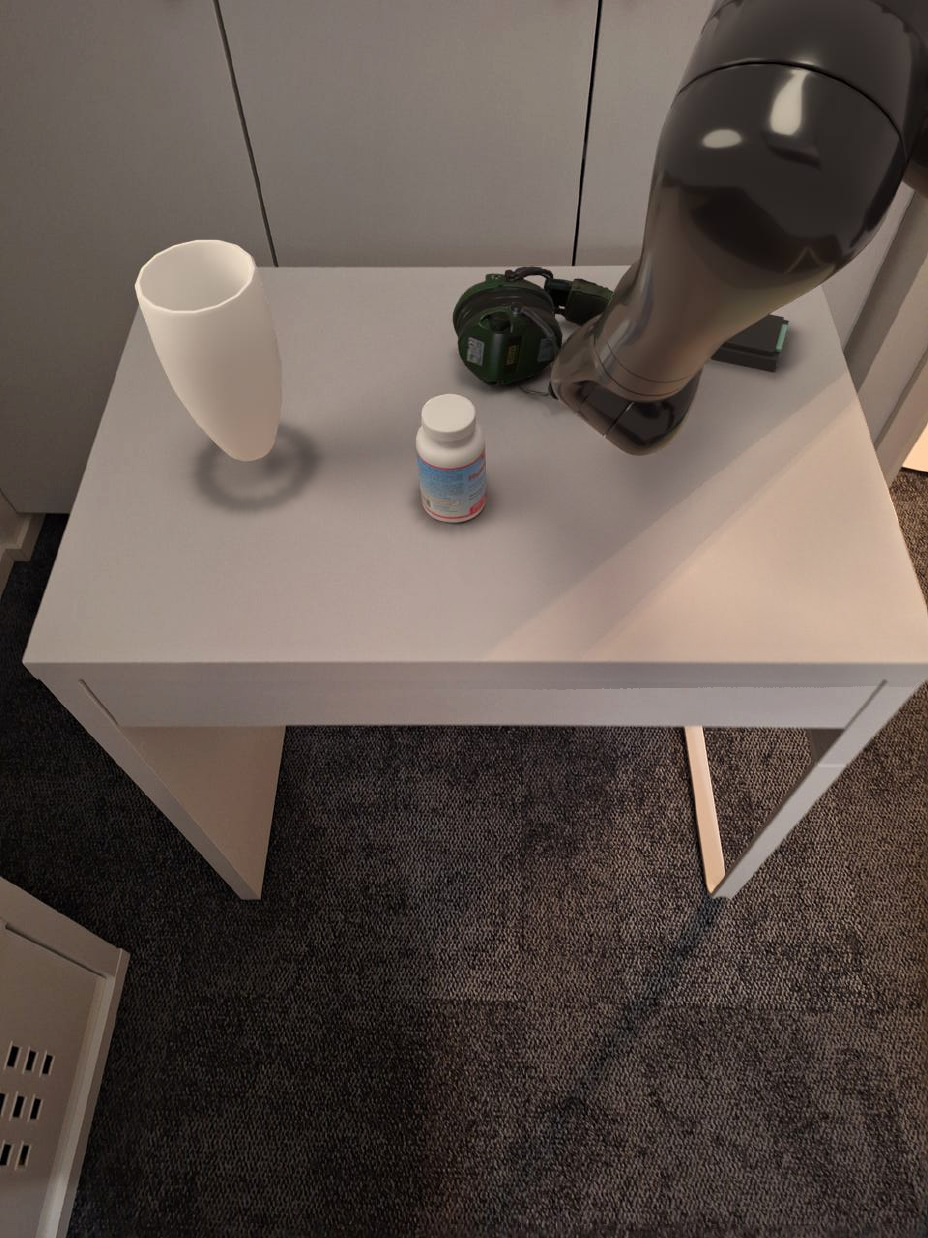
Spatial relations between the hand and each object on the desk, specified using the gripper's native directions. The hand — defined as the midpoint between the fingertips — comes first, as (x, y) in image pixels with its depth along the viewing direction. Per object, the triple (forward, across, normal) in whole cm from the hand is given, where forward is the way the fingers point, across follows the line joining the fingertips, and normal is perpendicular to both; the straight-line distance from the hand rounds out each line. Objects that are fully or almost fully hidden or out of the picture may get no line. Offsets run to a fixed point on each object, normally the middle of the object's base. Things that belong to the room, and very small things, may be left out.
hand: (803, 171), depth 82 cm
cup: (-42, +33, +19) cm, 57 cm away
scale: (-1, 0, +19) cm, 19 cm away
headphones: (-15, +16, +19) cm, 29 cm away
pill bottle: (-35, +14, +19) cm, 43 cm away
